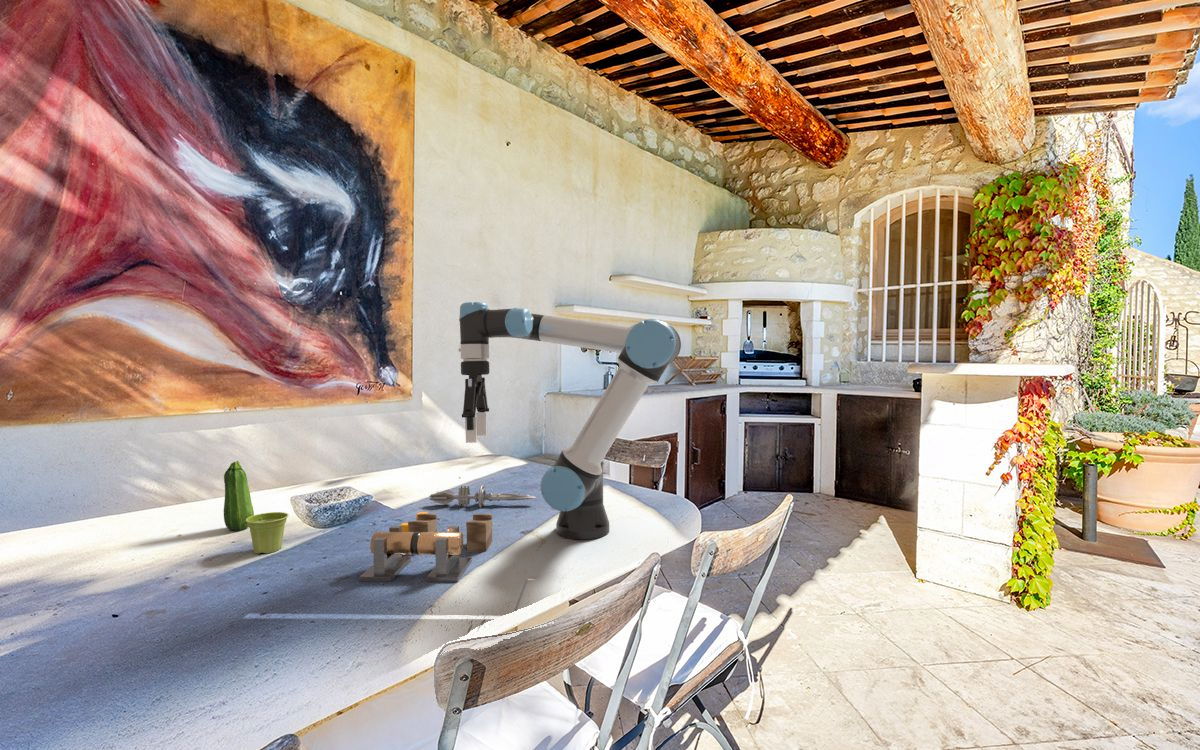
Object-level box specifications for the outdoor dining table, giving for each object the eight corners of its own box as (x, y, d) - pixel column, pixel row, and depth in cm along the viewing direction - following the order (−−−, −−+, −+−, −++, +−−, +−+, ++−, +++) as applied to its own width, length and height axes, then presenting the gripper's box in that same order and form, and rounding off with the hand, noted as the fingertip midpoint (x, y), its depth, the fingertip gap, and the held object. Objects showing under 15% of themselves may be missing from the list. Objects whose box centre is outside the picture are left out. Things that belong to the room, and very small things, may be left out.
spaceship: (534, 512, 172) (534, 488, 172) (426, 512, 172) (426, 488, 172) (537, 505, 180) (537, 482, 180) (433, 505, 180) (433, 482, 180)
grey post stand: (471, 561, 130) (471, 524, 130) (457, 581, 118) (457, 541, 118) (382, 560, 130) (382, 524, 130) (359, 581, 118) (358, 541, 118)
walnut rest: (492, 542, 144) (492, 513, 144) (485, 552, 136) (485, 522, 136) (419, 541, 144) (418, 513, 144) (408, 551, 137) (408, 522, 136)
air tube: (463, 550, 126) (463, 529, 126) (457, 558, 121) (457, 536, 121) (380, 549, 127) (379, 528, 127) (370, 558, 122) (370, 536, 122)
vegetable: (241, 534, 151) (240, 463, 150) (217, 533, 151) (215, 463, 151) (259, 526, 158) (258, 459, 157) (236, 525, 158) (235, 458, 158)
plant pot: (279, 541, 145) (278, 509, 144) (295, 548, 139) (295, 515, 139) (240, 551, 137) (239, 518, 137) (256, 559, 132) (255, 524, 131)
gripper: (471, 360, 156) (472, 432, 157) (448, 360, 131) (451, 446, 132) (496, 360, 156) (498, 432, 157) (479, 359, 131) (481, 445, 132)
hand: (476, 438), depth 144 cm, fingers open, 13 cm apart
